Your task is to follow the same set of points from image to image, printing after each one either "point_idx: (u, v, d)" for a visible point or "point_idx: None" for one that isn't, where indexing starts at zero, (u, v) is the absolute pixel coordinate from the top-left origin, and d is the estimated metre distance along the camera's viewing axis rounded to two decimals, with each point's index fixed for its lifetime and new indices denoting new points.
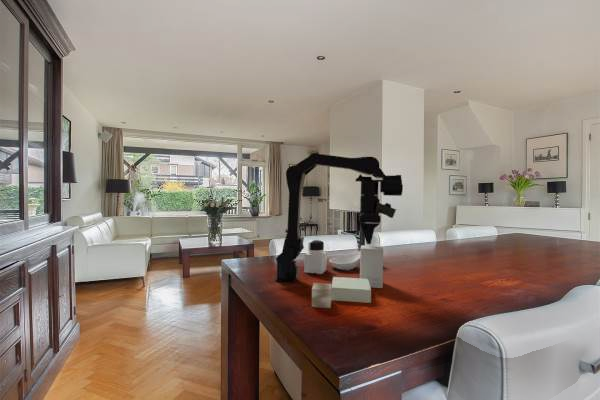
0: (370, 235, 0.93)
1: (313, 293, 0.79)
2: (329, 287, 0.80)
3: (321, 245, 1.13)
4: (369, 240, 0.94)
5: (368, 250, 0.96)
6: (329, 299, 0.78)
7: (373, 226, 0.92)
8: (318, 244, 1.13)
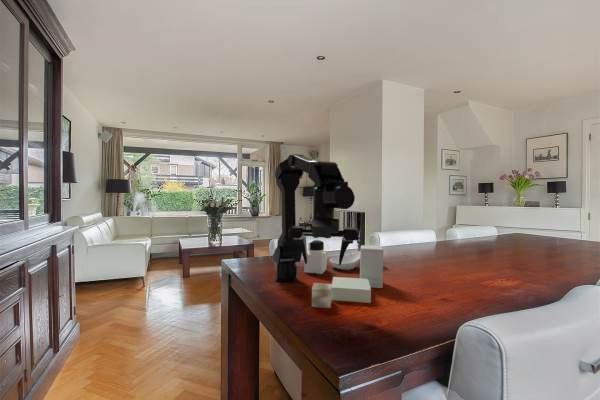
0: (302, 253, 0.81)
1: (313, 293, 0.79)
2: (329, 287, 0.80)
3: (321, 245, 1.13)
4: (304, 259, 0.82)
5: (368, 250, 0.96)
6: (329, 299, 0.78)
7: None
8: (318, 244, 1.13)
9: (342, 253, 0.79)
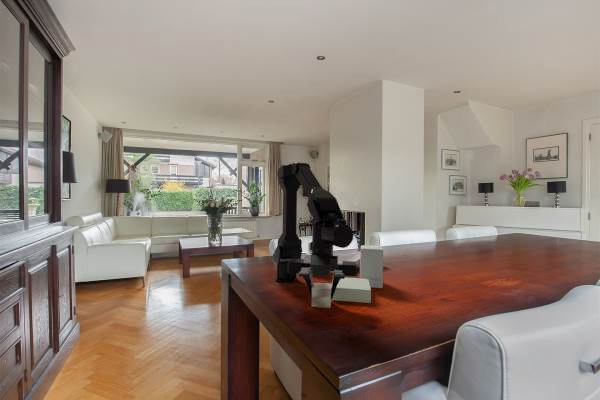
0: (308, 287, 0.81)
1: (313, 293, 0.79)
2: (329, 287, 0.80)
3: None
4: (310, 293, 0.82)
5: (368, 250, 0.96)
6: (329, 299, 0.78)
7: None
8: None
9: (334, 287, 0.80)
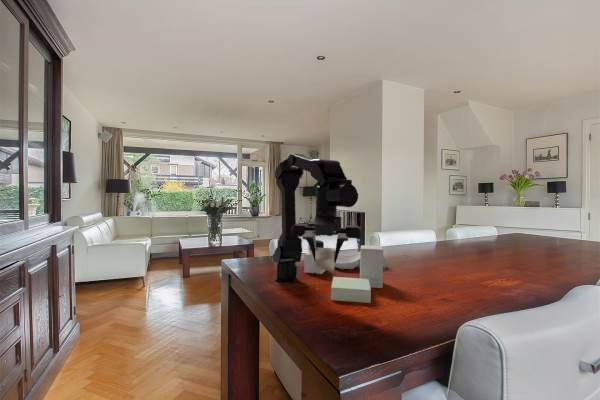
0: None
1: (317, 255, 0.80)
2: (332, 250, 0.80)
3: (321, 245, 1.13)
4: None
5: (368, 250, 0.96)
6: (332, 261, 0.79)
7: None
8: (318, 244, 1.13)
9: (337, 250, 0.80)
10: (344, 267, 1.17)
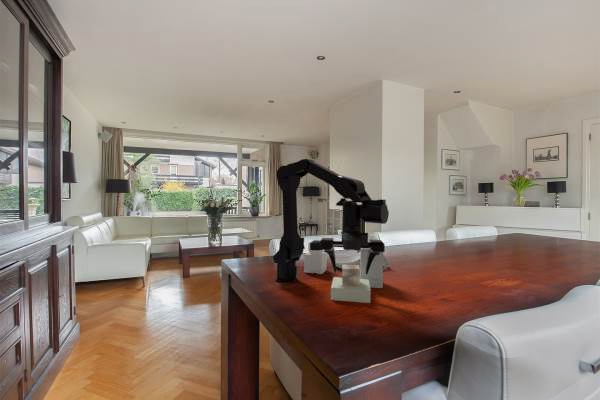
0: (332, 263, 0.89)
1: (343, 272, 0.87)
2: (358, 267, 0.88)
3: None
4: (333, 268, 0.89)
5: None
6: (358, 278, 0.86)
7: None
8: (318, 244, 1.13)
9: (369, 263, 0.87)
10: None
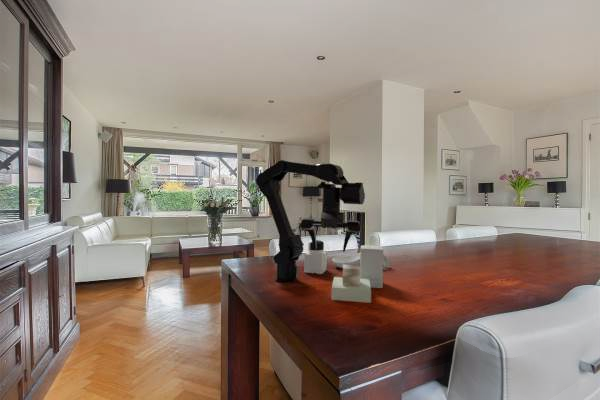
0: (312, 241, 0.97)
1: (344, 272, 0.87)
2: (358, 267, 0.87)
3: (321, 245, 1.13)
4: (314, 246, 0.97)
5: (368, 250, 0.96)
6: (359, 278, 0.86)
7: None
8: (318, 244, 1.13)
9: (346, 242, 0.94)
10: None
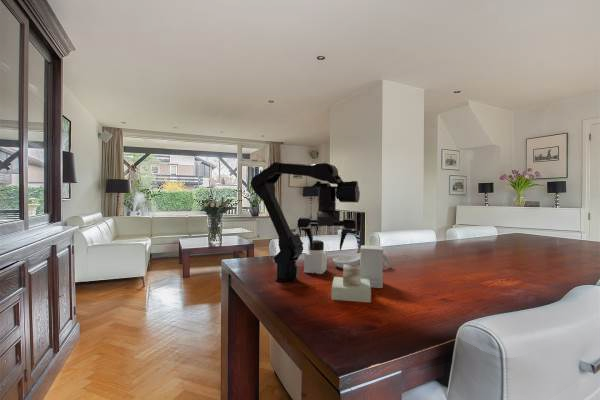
0: (309, 239, 0.98)
1: (344, 272, 0.87)
2: (358, 267, 0.88)
3: (321, 245, 1.13)
4: None
5: (368, 250, 0.96)
6: (359, 278, 0.86)
7: None
8: (318, 244, 1.13)
9: (342, 239, 0.96)
10: None
